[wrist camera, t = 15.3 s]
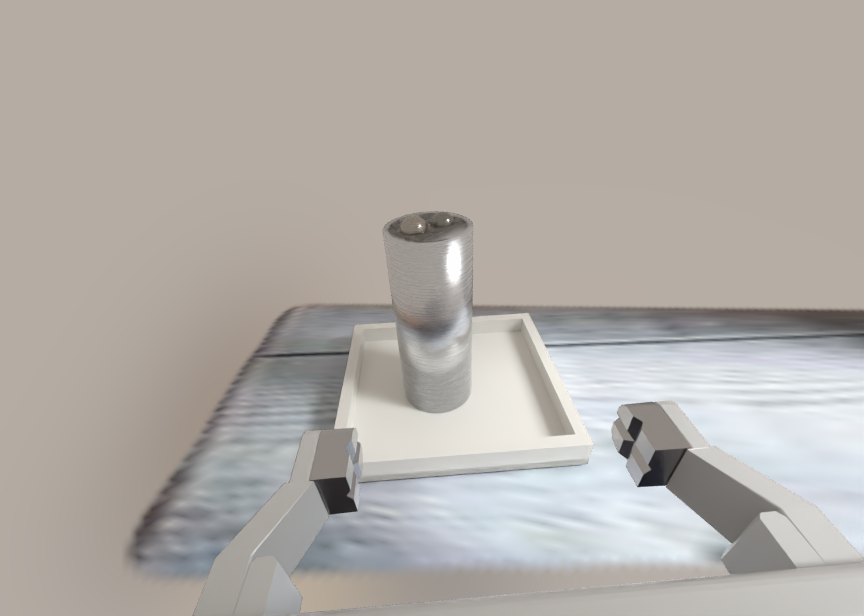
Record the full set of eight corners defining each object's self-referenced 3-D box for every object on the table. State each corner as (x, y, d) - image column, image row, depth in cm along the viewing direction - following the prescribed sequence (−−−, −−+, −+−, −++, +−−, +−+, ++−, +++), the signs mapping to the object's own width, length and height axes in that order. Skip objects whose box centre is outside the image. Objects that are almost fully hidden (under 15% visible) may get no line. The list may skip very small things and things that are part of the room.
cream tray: (526, 330, 34) (528, 312, 33) (587, 464, 23) (593, 444, 22) (358, 341, 34) (354, 324, 33) (333, 484, 22) (326, 465, 21)
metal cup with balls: (466, 361, 30) (466, 196, 23) (476, 410, 26) (480, 226, 18) (404, 366, 30) (383, 202, 23) (404, 416, 26) (377, 233, 18)
